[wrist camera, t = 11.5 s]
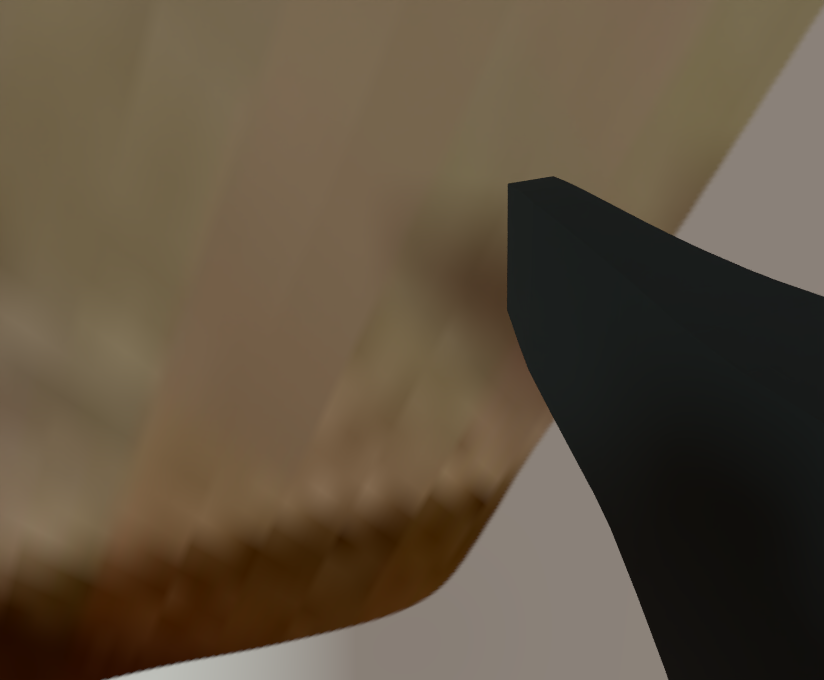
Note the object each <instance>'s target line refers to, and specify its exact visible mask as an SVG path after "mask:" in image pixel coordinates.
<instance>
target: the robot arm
mask: <svg viewBox="0 0 824 680" xmlns="http://www.w3.org/2000/svg"><path fill="white" fill-rule="evenodd" d="M507 311H508V314H509V317H510V319H511V322H512V325H513V328H514V331H515V334H516V337H517V340H518V343H519V345H520V348H521V351H522V353H523V356H524V359H525V361H526V364H527V367H528V369H529V371H530V373H531V375H532V377H533V379H534V381H535V383H536V385H537V387H538V389H539V391H540V393H541V395H542V397H543V399H544V401H545V402H546V404H547V406H548V408H549V410H550V412H551V414H552V416H553V418H554V420H555V421H556V423H557V425H558V427H559V429H560V431H561V433H562V434H563V437H564V438H565V440H566V442H567V444H568V446H569V448H570V450H571V451H572V453H573V455H574V457H575V459H576V461H577V463H578V465H579V467H580V468H581V470H582V472H583V474H584V476H585V478H586V480H587V482H588V484H589V485H590V487H591V489H592V491H593V493H594V495H595V497H596V499H597V501H598V503H599V505H600V507H601V509H602V511H603V513H604V515H605V518H606V520H607V522H608V524H609V526H610V528H611V531H612V533H613V535H614V538H615V541H616V543H617V546H618V548H619V551H620V553H621V556H622V558H623V561H624V563H625V566H626V568H627V571H628V573H629V576H630V578H631V581H632V583H633V586H634V588H635V591H636V593H637V596H638V598H639V601H640V604H641V607H642V609H643V612H644V615H645V617H646V620H647V623H648V625H649V628H650V631H651V633H652V636H653V639H654V641H655V644H656V647H657V649H658V652H659V655H660V657H661V660H662V663H663V665H664V668H665V671H666V674H667V677H668V680H824V297H823V296H820V295H817V294H814V293H811V292H809V291H806V290H803V289H800V288H797V287H794V286H791V285H788V284H785V283H782V282H780V281H777V280H774V279H771V278H769V277H766V276H764V275H761V274H759V273H756V272H753V271H751V270H748V269H746V268H744V267H741V266H739V265H737V264H735V263H732V262H730V261H728V260H725V259H723V258H721V257H718V256H716V255H714V254H711V253H709V252H707V251H704V250H702V249H700V248H698V247H696V246H693V245H691V244H689V243H687V242H685V241H683V240H681V239H679V238H677V237H675V236H673V235H670V234H668V233H666V232H664V231H662V230H660V229H658V228H656V227H654V226H652V225H650V224H648V223H646V222H644V221H642V220H641V219H639V218H637V217H635V216H633V215H631V214H629V213H627V212H625V211H623V210H621V209H619V208H617V207H615V206H614V205H612V204H610V203H608V202H606V201H604V200H602V199H600V198H598V197H596V196H594V195H592V194H591V193H589V192H587V191H585V190H583V189H581V188H579V187H577V186H575V185H573V184H570V183H568V182H566V181H564V180H561V179H559V178H556V177H554V176H552V177H546V178H540V179H534V180H528V181H522V182H516V183H509V184H508V264H507Z"/></svg>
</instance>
